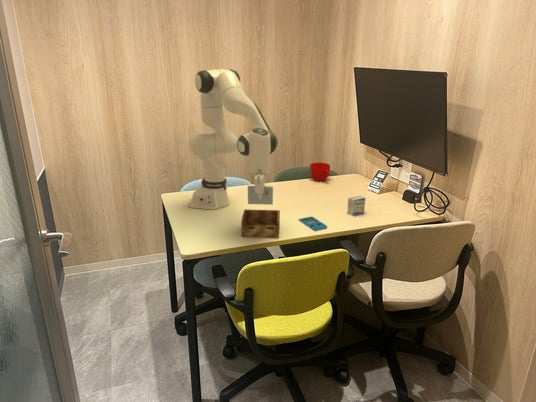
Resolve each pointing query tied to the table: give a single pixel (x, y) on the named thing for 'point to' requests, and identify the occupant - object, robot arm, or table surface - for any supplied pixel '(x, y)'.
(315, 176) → the ceramic cup
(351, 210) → the medicine box
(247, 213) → the wooden box
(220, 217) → the table surface
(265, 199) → the door
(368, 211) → the table surface
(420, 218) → the table surface
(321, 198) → the table surface
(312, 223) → the handheld gaming device
